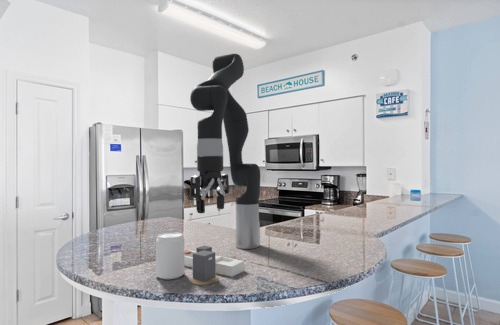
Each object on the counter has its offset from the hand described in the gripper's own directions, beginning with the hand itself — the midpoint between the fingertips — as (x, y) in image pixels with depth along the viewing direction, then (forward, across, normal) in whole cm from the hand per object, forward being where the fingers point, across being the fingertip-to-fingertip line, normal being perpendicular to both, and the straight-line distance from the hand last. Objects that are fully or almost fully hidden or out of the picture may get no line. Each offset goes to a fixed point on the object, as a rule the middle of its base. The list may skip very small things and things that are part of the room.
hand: (211, 210), depth 92 cm
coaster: (+19, +3, 0) cm, 19 cm away
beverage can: (+19, +6, -11) cm, 23 cm away
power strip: (+19, -6, -9) cm, 22 cm away
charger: (+19, +3, 0) cm, 19 cm away
